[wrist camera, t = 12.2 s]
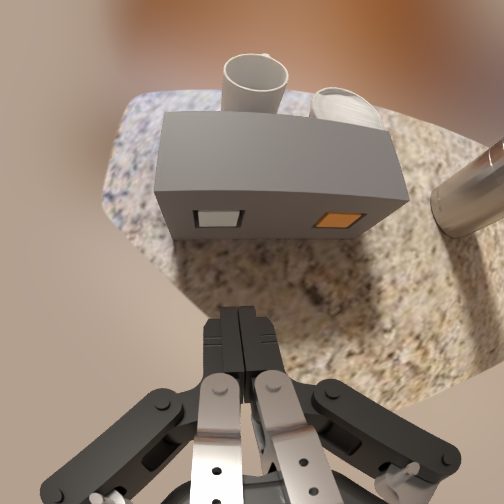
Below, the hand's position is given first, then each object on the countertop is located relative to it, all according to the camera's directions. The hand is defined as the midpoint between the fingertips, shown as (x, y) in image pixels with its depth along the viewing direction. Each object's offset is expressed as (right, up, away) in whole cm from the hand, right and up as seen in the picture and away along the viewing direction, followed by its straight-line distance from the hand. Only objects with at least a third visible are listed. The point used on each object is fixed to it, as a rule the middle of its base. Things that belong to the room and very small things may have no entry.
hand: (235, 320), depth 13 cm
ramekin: (+13, +21, +27) cm, 36 cm away
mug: (0, +20, +24) cm, 31 cm away
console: (+3, +8, +22) cm, 23 cm away
